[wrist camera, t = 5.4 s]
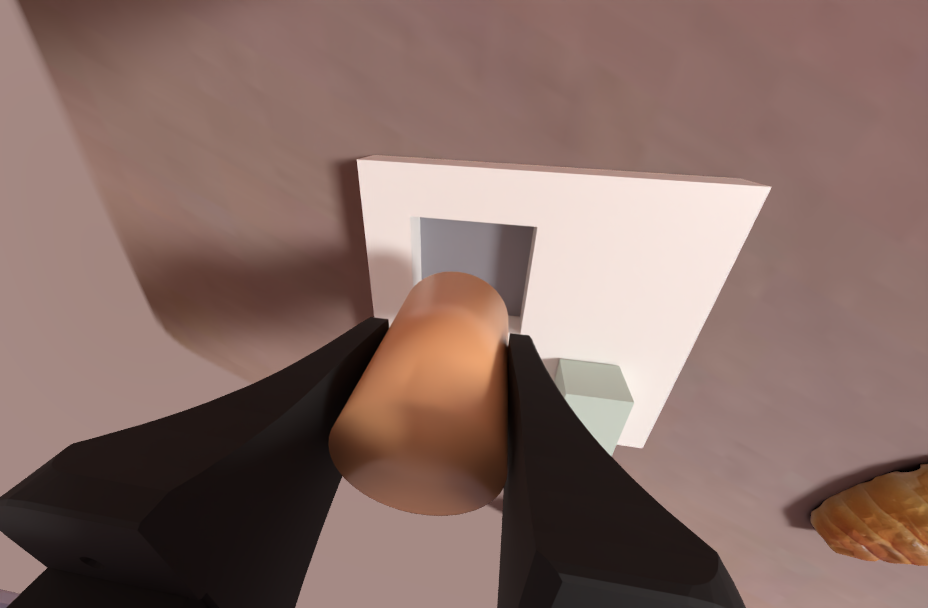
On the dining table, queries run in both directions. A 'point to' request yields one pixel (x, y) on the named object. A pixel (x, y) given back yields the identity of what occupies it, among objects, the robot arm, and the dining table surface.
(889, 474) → the pastry
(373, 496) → the peg
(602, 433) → the block
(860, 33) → the dining table surface
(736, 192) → the housing
